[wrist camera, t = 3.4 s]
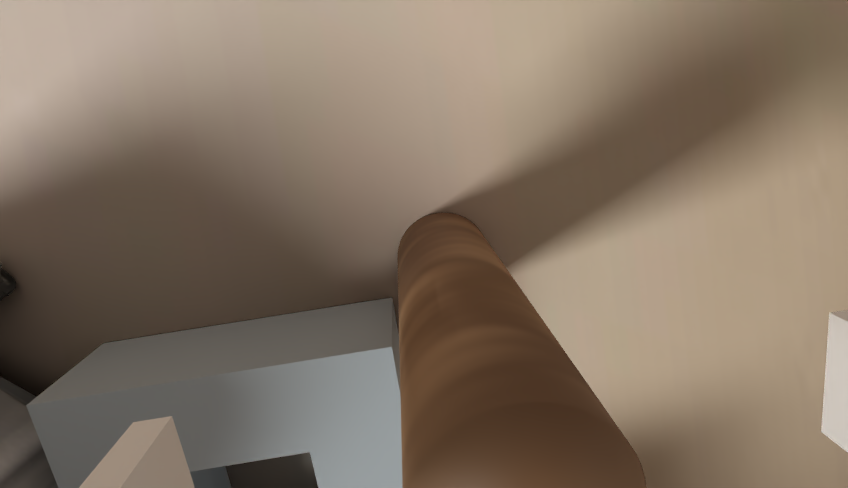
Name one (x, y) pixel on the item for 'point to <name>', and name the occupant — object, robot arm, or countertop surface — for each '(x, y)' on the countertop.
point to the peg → (491, 377)
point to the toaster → (19, 430)
